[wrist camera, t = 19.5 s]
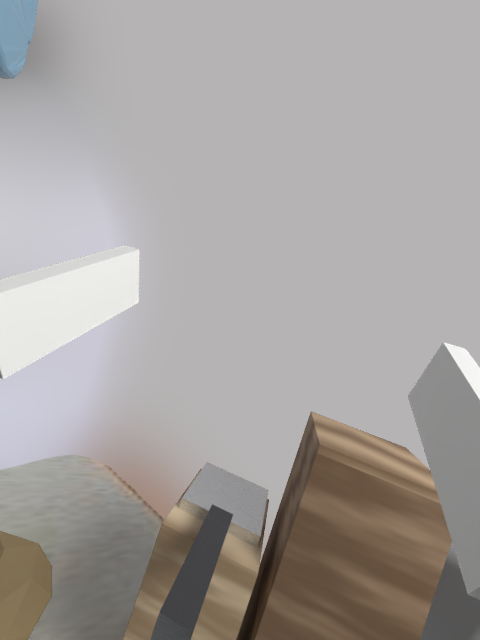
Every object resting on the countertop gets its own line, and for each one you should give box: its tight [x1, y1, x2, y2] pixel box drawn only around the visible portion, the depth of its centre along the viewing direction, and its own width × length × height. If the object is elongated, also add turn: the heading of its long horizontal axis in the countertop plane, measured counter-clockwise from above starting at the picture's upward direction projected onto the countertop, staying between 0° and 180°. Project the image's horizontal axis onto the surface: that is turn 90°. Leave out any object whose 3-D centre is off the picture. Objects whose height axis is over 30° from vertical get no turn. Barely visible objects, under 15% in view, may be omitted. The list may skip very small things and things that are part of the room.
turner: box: [150, 463, 268, 640], centre depth 28 cm, size 21×9×2 cm, turn 169°
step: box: [123, 469, 269, 640], centre depth 32 cm, size 12×10×22 cm
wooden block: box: [236, 412, 452, 640], centre depth 30 cm, size 12×12×35 cm
